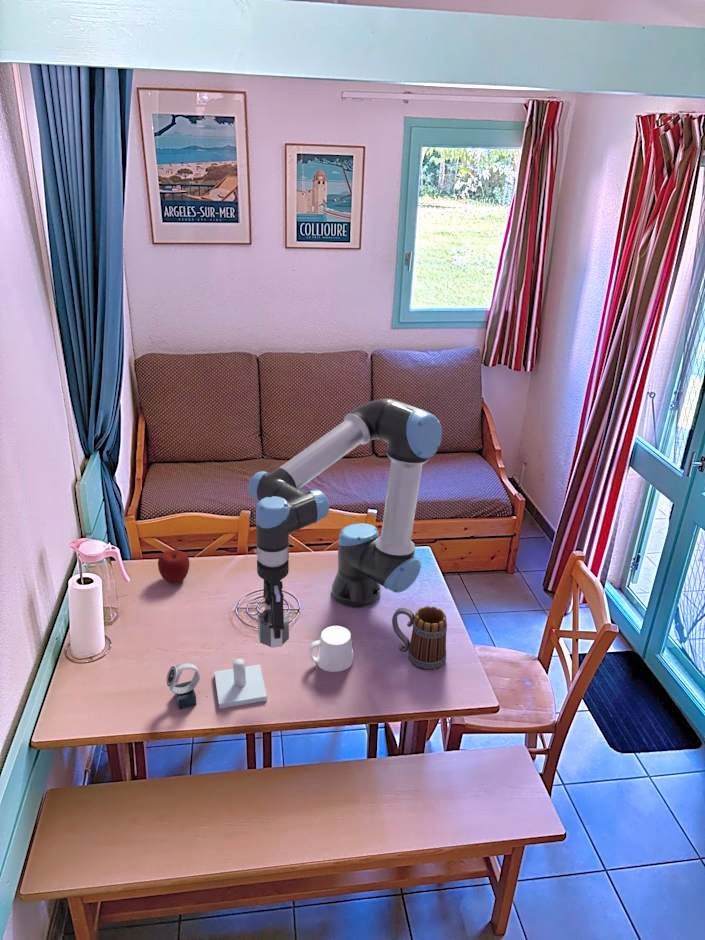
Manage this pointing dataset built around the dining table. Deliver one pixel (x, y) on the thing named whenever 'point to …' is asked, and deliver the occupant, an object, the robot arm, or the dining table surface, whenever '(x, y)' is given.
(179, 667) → the watch
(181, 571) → the apple
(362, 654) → the dining table surface
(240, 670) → the post block
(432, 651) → the mug
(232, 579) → the dining table surface
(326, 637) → the mug
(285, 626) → the collar
